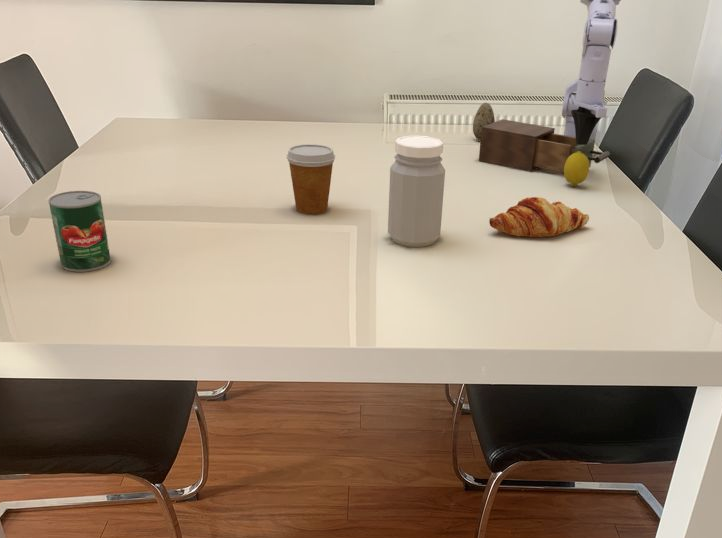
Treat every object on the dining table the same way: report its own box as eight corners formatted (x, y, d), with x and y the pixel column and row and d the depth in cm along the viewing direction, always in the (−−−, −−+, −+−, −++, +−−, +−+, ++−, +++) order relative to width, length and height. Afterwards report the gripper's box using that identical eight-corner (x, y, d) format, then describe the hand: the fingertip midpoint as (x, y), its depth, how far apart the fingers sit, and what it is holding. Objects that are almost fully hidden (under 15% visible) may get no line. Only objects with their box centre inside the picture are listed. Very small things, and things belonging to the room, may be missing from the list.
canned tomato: (82, 275, 121) (70, 209, 115) (50, 264, 124) (37, 199, 119) (121, 260, 127) (111, 196, 121) (90, 250, 130) (78, 187, 125)
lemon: (584, 183, 175) (590, 148, 171) (587, 190, 171) (593, 155, 166) (560, 182, 176) (565, 147, 172) (562, 189, 171) (568, 153, 167)
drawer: (609, 170, 182) (614, 142, 179) (594, 180, 175) (599, 151, 172) (539, 157, 191) (543, 130, 187) (522, 165, 183) (526, 137, 180)
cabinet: (549, 162, 190) (554, 128, 186) (531, 171, 182) (536, 136, 178) (498, 152, 197) (502, 119, 193) (478, 161, 189) (481, 126, 184)
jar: (403, 251, 135) (408, 150, 125) (378, 233, 142) (381, 136, 133) (449, 244, 139) (458, 145, 130) (423, 227, 146) (429, 132, 137)
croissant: (575, 238, 154) (572, 198, 153) (604, 231, 144) (601, 189, 143) (481, 244, 147) (477, 203, 147) (504, 237, 138) (500, 193, 137)
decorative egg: (472, 137, 210) (475, 99, 205) (493, 138, 209) (497, 101, 204) (471, 142, 205) (474, 104, 200) (493, 144, 204) (497, 105, 199)
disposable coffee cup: (343, 206, 155) (343, 147, 149) (320, 220, 147) (320, 158, 141) (303, 199, 158) (302, 141, 152) (279, 212, 151) (276, 151, 144)
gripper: (624, 86, 156) (612, 152, 163) (595, 74, 169) (584, 135, 176) (593, 86, 155) (582, 152, 162) (565, 73, 167) (556, 136, 174)
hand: (581, 144), depth 169 cm, fingers closed
